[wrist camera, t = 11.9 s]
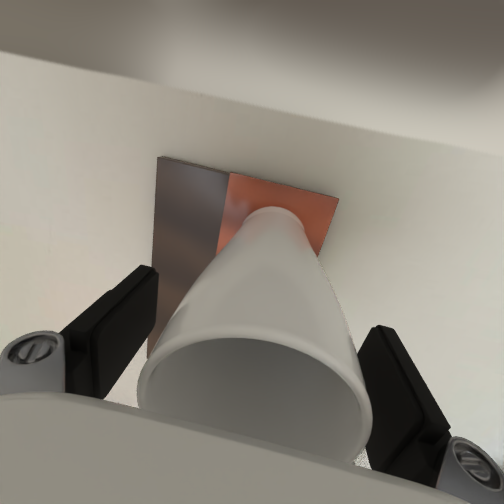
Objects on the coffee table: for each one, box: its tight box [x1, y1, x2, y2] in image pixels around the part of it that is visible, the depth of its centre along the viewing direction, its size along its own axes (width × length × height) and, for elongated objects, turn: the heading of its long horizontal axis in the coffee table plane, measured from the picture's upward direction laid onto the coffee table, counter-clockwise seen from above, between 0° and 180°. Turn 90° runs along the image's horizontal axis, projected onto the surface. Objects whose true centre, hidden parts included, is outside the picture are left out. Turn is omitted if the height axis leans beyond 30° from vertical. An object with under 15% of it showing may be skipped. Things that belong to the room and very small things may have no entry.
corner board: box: [147, 156, 339, 359], centre depth 24 cm, size 22×14×1 cm, turn 168°
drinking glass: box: [137, 206, 373, 464], centre depth 14 cm, size 7×7×15 cm
